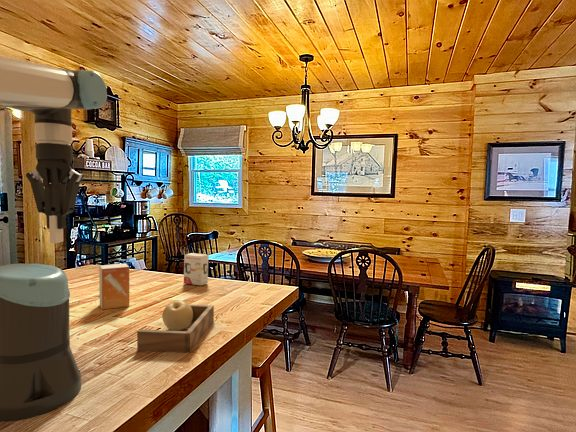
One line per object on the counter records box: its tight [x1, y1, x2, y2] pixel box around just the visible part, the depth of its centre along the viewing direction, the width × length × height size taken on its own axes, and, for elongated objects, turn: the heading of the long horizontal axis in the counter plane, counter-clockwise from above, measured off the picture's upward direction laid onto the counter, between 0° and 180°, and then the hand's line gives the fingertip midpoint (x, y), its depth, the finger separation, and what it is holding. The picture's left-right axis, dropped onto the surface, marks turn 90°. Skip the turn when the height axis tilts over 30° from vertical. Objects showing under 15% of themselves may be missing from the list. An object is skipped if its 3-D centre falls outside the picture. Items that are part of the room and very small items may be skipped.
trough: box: [136, 304, 215, 353], centre depth 96 cm, size 21×12×4 cm, turn 177°
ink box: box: [183, 252, 209, 286], centre depth 149 cm, size 9×5×12 cm, turn 70°
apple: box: [161, 300, 193, 331], centre depth 99 cm, size 8×8×8 cm
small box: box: [98, 262, 130, 310], centre depth 119 cm, size 8×6×13 cm
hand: (56, 242), depth 90 cm, fingers closed
